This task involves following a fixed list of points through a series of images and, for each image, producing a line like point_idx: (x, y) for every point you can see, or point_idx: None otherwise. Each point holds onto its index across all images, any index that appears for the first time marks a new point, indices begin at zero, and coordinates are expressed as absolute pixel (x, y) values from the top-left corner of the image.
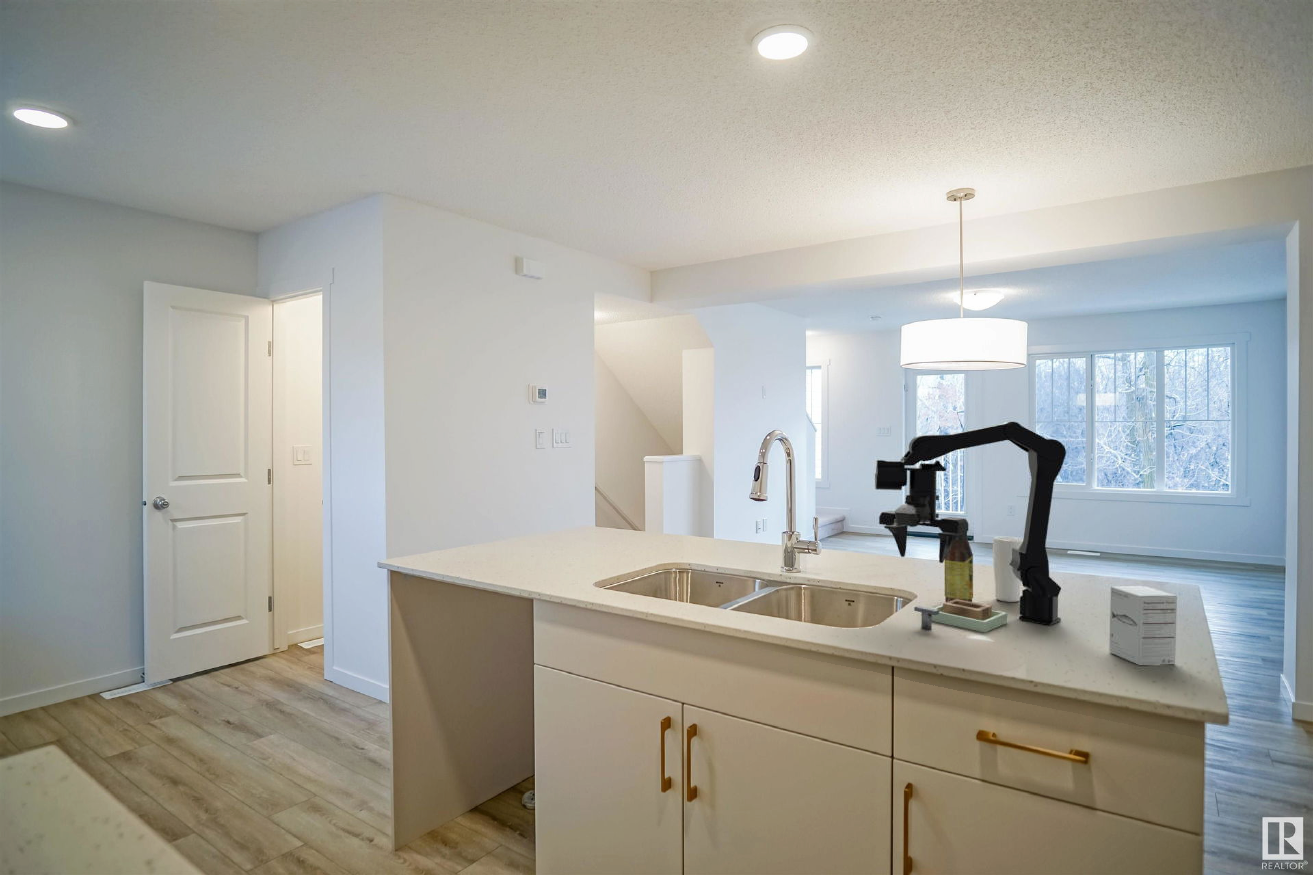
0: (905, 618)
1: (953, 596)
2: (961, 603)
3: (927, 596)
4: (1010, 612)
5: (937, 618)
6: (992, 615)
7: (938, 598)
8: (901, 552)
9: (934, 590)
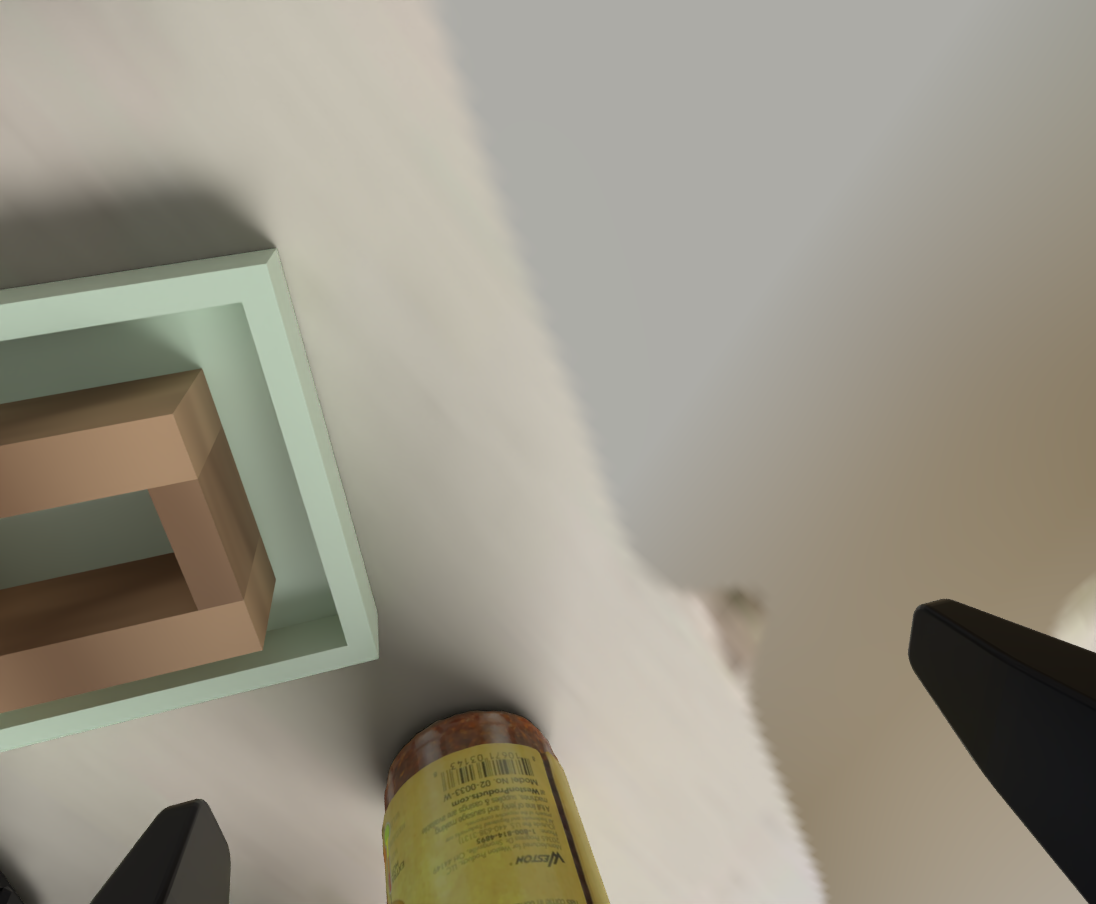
0: (406, 101)
1: (460, 761)
2: (162, 609)
3: (698, 734)
4: None
5: (168, 270)
6: None
7: (630, 756)
8: (988, 635)
9: (743, 844)
